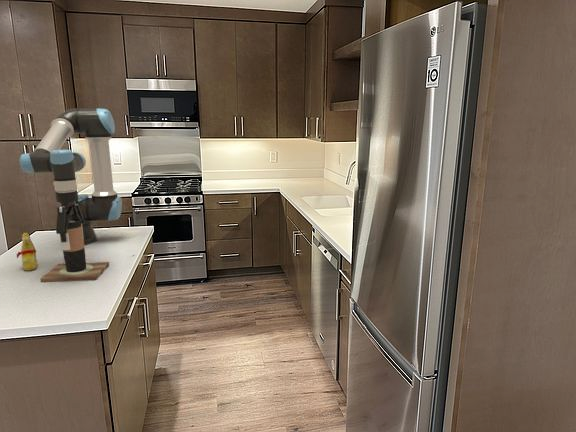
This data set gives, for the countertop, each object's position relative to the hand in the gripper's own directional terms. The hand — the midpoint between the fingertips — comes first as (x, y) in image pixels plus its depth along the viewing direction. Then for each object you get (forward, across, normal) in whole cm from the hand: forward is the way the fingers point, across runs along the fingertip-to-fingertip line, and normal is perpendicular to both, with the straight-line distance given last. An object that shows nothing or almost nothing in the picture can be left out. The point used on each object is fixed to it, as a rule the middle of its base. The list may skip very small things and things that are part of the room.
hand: (73, 244), depth 160 cm
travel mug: (+11, 0, 0) cm, 11 cm away
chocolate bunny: (+12, -9, -23) cm, 27 cm away
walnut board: (+12, 0, 0) cm, 12 cm away
